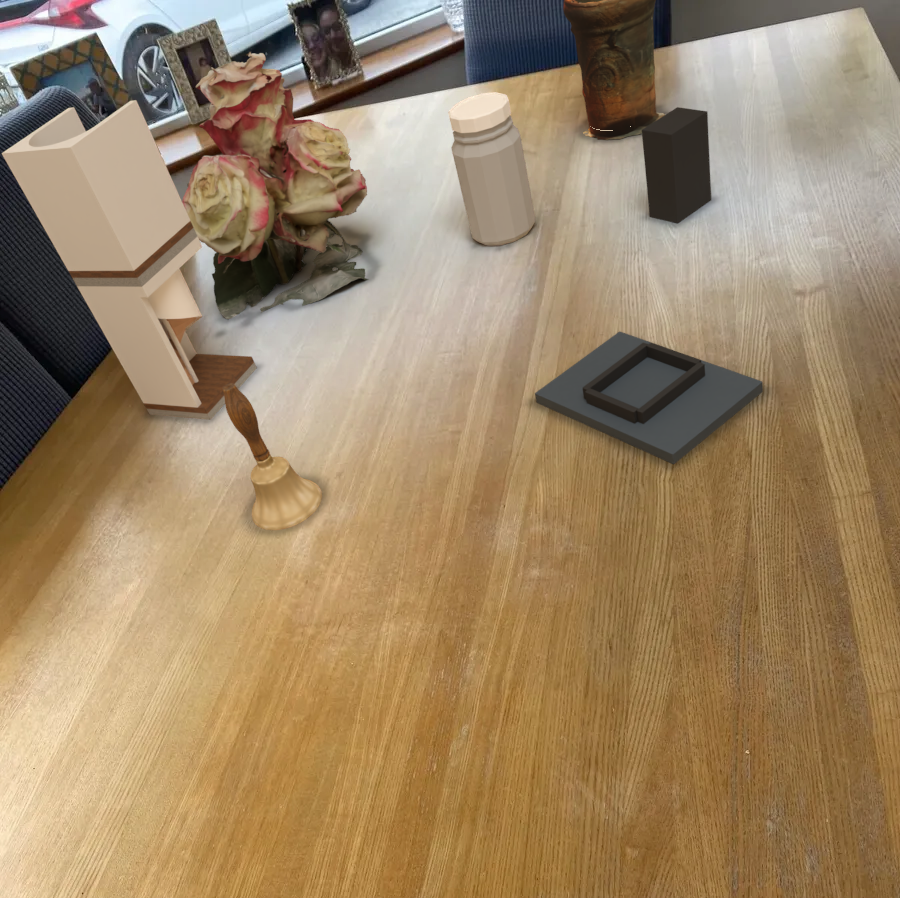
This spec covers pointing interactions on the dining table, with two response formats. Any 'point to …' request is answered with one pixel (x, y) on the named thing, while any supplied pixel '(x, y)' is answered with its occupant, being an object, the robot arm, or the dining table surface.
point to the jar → (491, 169)
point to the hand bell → (271, 473)
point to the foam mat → (649, 395)
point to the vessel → (615, 64)
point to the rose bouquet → (270, 191)
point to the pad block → (677, 164)
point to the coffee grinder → (126, 252)
